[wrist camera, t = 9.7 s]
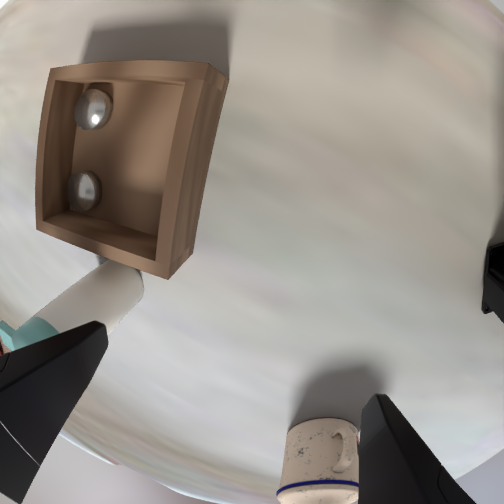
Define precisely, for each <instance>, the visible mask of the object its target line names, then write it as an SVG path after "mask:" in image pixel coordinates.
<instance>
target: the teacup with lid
mask: <svg viewBox="0 0 504 504" xmlns="http://www.w3.org/2000/svg"><path fill="white" fill-rule="evenodd" d="M358 488H359V437H358V430H357V428H356V427H355V426H354V425H353V424H351V423H350V422H348V421H345V420H341V419H335V418H320V419H313V420H309V421H305V422H303V423H300V424H298V425H296V426H295V427H293V428H292V429H291V430H290V431H289V432H288V434H287V438H286V446H285V454H284V461H283V469H282V476H281V483H280V489H279V490H278V491H277V494H276V495H277V498H278V500H279V502H280V503H282V504H351V503H353V502H355V501H356V500H358Z"/></svg>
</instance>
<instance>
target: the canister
mask: <svg viewBox="0 0 504 504" xmlns="http://www.w3.org/2000/svg"><path fill="white" fill-rule="evenodd" d="M143 293H144V286H143V281H142V279H141V276H140V275H139V273H138V271H137V270H136V269H135V268H133V267H130V266H127V265H124V264H122V263H119V262H116V261H114V260H111V259H108V260H107V261H105V262H104V263H103V264H101V265H100V266H98V267H97V268H95V269H94V270H93V271H91V272H90V273H89V274H87V275H86V276H84V277H83V278H82V279H80V280H79V281H78V282H76V283H75V284H74V285H72V286H71V287H70V288H68V289H67V290H66V291H64V292H63V293H62V294H60V295H59V296H58V297H57V298H55V299H54V300H53V301H51V302H50V303H49V304H48V305H46V306H45V307H44V308H43V309H41V310H40V311H39V312H38V313H36V314H35V315H34V316H33V317H31V318H30V319H29V320H28V321H27V322H25V323H24V324H23V325H22V326H21V327H19V328H18V329H17V330H16V331H15V330H14V329H13V328H12V327H10V326H9V325H8V324H7V323H5V322H4V321H1V322H0V335H1V338H2V341H3V343H4V344H5V345H6V346H7V347H8V348H9V349H11V350H12V351H14V350H17V349H19V348H22V347H25V346H27V345H30V344H33V343H35V342H38V341H41V340H43V339H46V338H49V337H51V336H54V335H57V334H59V333H62V332H64V331H67V330H70V329H72V328H75V327H78V326H80V325H83V324H86V323H88V322H91V321H94V320H96V321H99V322H101V323H104V324H105V325H106V329H107V336H108V335H109V334H110V333H111V331H112V330H113V329H114V328H115V327H116V326H117V325H118V324H119V323H120V322H121V320H122V319H123V318H124V317H125V316H126V315H127V314H128V313H129V312H130V311H131V310H132V309H133V308H134V306H135V305H136V304H137V303H138V302H139V301H140V300H141V299H142V297H143Z"/></svg>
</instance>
